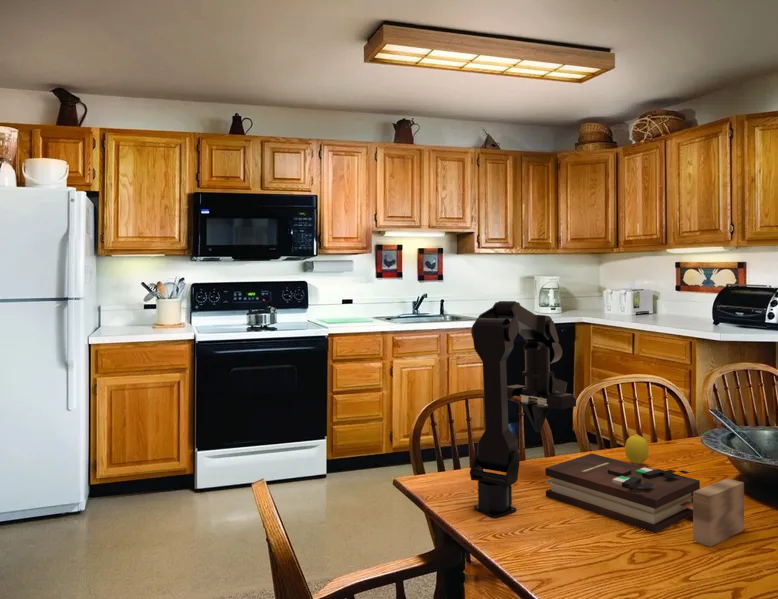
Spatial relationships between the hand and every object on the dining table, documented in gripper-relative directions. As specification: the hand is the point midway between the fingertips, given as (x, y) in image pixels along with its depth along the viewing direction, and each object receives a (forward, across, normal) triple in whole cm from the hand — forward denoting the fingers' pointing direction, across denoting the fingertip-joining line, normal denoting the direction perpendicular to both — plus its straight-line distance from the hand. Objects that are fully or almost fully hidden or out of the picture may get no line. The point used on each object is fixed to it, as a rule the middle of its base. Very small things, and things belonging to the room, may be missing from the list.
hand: (538, 431), depth 146 cm
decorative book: (+11, -23, 0) cm, 25 cm away
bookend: (+11, -43, 0) cm, 45 cm away
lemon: (+11, -10, -25) cm, 29 cm away
